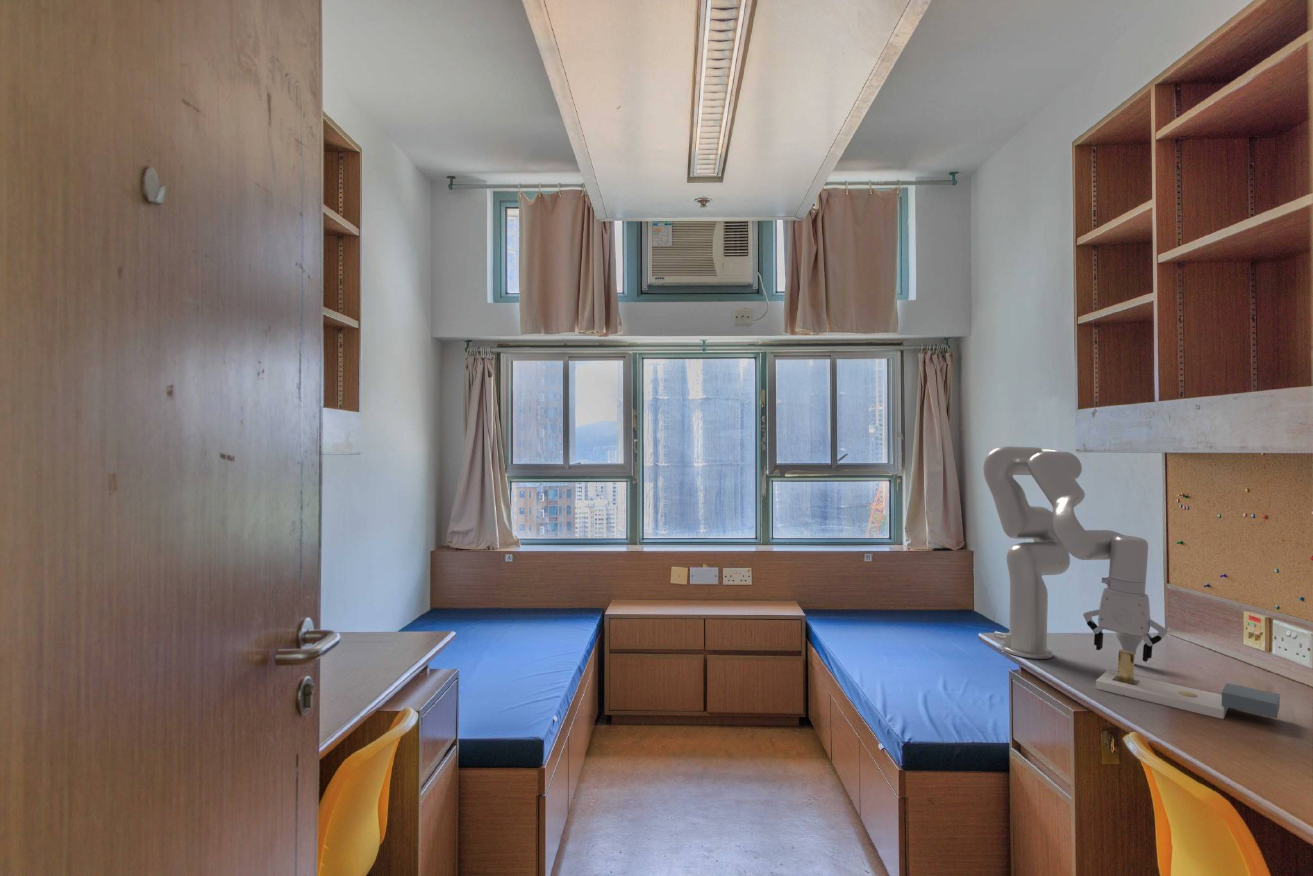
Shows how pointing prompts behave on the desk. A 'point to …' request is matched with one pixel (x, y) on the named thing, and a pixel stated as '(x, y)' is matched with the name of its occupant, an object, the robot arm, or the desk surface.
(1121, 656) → the pin
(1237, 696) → the housing
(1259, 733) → the desk surface
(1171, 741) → the desk surface
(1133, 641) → the lightbulb
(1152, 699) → the board
